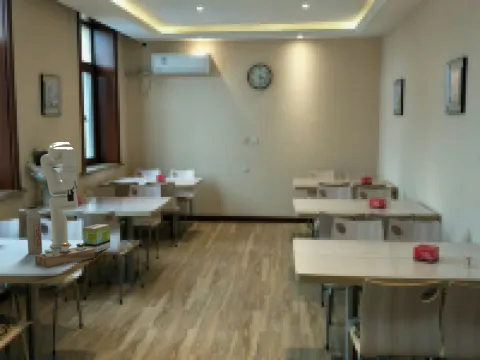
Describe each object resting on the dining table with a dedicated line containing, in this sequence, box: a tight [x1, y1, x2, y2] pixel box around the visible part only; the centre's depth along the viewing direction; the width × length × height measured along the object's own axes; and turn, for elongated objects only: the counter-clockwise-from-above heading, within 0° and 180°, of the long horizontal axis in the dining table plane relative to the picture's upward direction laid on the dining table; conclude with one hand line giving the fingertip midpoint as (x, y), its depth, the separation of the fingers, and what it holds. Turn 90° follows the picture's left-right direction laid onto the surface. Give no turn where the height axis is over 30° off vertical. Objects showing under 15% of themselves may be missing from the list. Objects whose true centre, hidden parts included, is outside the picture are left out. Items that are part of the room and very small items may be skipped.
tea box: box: [82, 223, 111, 253], centre depth 344 cm, size 15×10×15 cm
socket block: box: [34, 246, 96, 268], centre depth 317 cm, size 12×30×5 cm, turn 139°
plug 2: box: [76, 242, 85, 250], centre depth 324 cm, size 5×5×7 cm
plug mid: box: [60, 242, 70, 254], centre depth 317 cm, size 5×5×7 cm
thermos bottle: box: [25, 205, 43, 255], centre depth 338 cm, size 8×8×28 cm
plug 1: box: [44, 249, 54, 257], centre depth 309 cm, size 5×5×7 cm
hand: (70, 201), depth 327 cm, fingers closed
